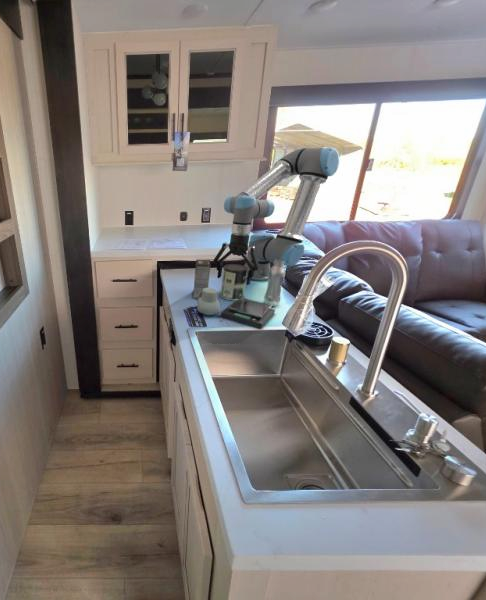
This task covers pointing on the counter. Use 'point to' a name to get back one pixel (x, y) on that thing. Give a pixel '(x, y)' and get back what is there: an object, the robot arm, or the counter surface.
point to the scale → (247, 317)
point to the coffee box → (201, 277)
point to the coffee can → (233, 281)
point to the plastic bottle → (274, 283)
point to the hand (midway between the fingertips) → (233, 280)
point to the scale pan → (250, 308)
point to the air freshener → (208, 302)
